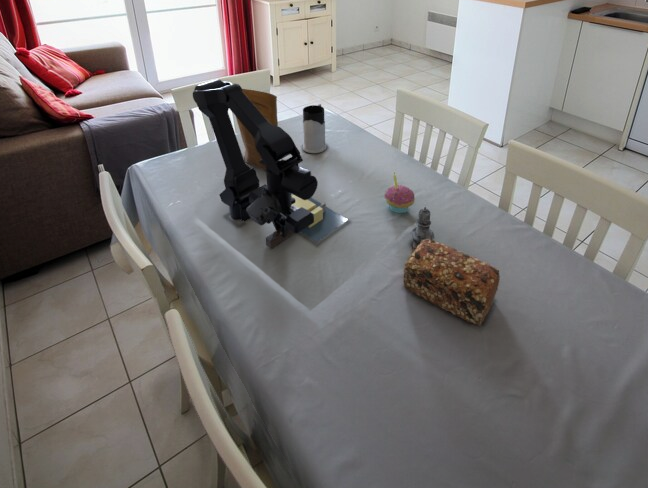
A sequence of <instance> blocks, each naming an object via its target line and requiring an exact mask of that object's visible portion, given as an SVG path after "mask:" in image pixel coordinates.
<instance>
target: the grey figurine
mask: <svg viewBox="0 0 648 488" xmlns="http://www.w3.org/2000/svg"><path fill="white" fill-rule="evenodd" d="M417 217H418V218H417V219H416V224H417V225H416V227H414V228H413V229H412V230H410V231H411V232H410V235H411V238H412V241H411V244H410V245H411V248H412V250H413V249H414V248H415V247H416V246H418V245H419V244H420V242H421V241H422V240H425V239H431V240H434V239H435V233H434V231H433V230H432V229H431V228H430V226H431V225H432V221H431V211H430V210H429V208H427V207H426V206H424V207H423V208H420V209H419V210H418V216H417Z"/></svg>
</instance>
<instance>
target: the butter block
mask: <svg viewBox="0 0 648 488" xmlns="http://www.w3.org/2000/svg"><path fill="white" fill-rule="evenodd" d="M291 195H292V197H293V198H294V199H295V203H294V204H292V205H291V206H296V207H297V208H301V207H303V208H305V209H306V210H308V211H310V212H311V211H312V210H314V209H315V208H316V204H314V203H312V202H311V201H309V200H303V199H301V198H299V197H297V196H295V195H293V194H291Z"/></svg>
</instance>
